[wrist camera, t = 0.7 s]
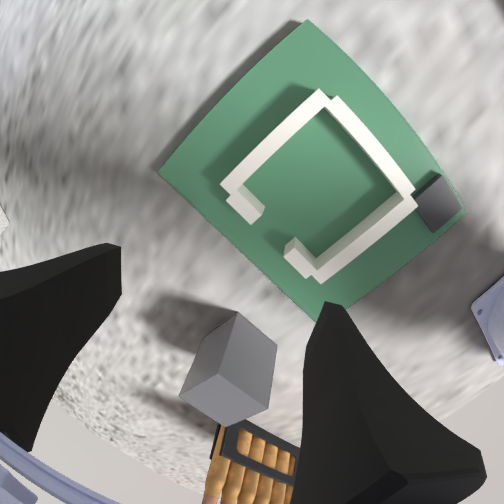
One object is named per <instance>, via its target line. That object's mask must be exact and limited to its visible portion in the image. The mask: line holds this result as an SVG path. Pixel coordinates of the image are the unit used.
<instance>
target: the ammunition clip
mask: <svg viewBox="0 0 504 504" xmlns="http://www.w3.org/2000/svg"><path fill="white" fill-rule="evenodd" d="M299 454H300V448H298V447H296V446H294V445H292V444H290V443H288V442H286V441H284V440H283V439H281V438H279V437H277V436H275V435H273V434H271V433H269V432H267V431H266V430H264V429H262V428H260V427H258V426H257V425H255V424H253V423H251V422H249V421H248V420H246V419H244V420H242V421H239V422H237V423H235V424H232V425H230V426H227V427H224V426H222V425H221V424H219V423H218V425H217V429H216V434H215V438H214V442H213V446H212V450H211V454H210V459H211V464H210V467H209V471H208V474H207V478H206V483H205V492H204V497H203V501H202V504H217V501H218V499H219V495H220V492H221V490H222V497H221V502H220V504H235V503H236V500H237V504H290V500H291V496H292V491H293V487H294V482H295V477H296V471H297V466H298V460H299Z"/></svg>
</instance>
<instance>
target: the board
mask: <svg viewBox="0 0 504 504" xmlns="http://www.w3.org/2000/svg"><path fill="white" fill-rule="evenodd" d="M158 173H159V174H160V175H161V176H162V177H163V178H164V179H165V180H166V181H167V182H168V183H169V184H171V185H172V186H173V187H174V188H175V189H176V190H177V191H178V192H179V193H180V194H181V195H182V196H183V197H184V198H185V199H186V200H187V201H188V202H189V203H190V204H191V205H192V206H193V207H195V208H196V209H197V210H198V211H199V212H200V213H201V214H202V215H203V216H204V217H205V218H206V219H207V220H208V221H209V222H210V223H211V224H212V225H213V226H214V227H215V228H216V229H218V230H219V231H220V232H221V233H222V234H223V235H224V236H225V237H226V238H227V239H228V240H229V241H230V242H231V243H232V244H233V245H234V246H235V247H236V248H238V249H239V250H240V251H241V252H242V253H243V254H244V255H245V256H246V257H247V258H248V259H249V260H250V261H251V262H252V263H253V264H254V265H255V266H256V267H258V268H259V269H260V270H261V271H262V272H263V273H264V274H265V275H266V276H267V277H268V278H269V279H270V280H271V281H272V282H273V283H274V284H276V285H277V286H278V287H279V288H280V289H281V290H282V291H283V292H284V293H285V294H286V295H287V296H288V297H289V298H290V299H291V300H292V301H294V302H295V303H296V304H297V305H298V306H299V307H300V308H301V309H302V310H303V311H304V312H305V313H306V314H307V315H308V316H309V317H311V318H312V319H313V320H314V321H315V322H317V319H318V317H319V314H320V312H321V309H322V307H323V304H324V302H325V301H327V302H331V303H335V304H339V305H342V306H343V307H344V308H345V309H347V308H348V307H349V306H351V305H352V304H354V303H355V302H356V301H358V300H359V299H361V298H362V297H363V296H365V295H366V294H367V293H369V292H370V291H372V290H373V289H374V288H376V287H377V286H378V285H380V284H381V283H382V282H384V281H385V280H386V279H388V278H389V277H390V276H392V275H393V274H394V273H395V272H397V271H398V270H399V269H401V268H402V267H403V266H404V265H406V264H407V263H408V262H409V261H411V260H412V259H413V258H414V257H416V256H417V255H418V254H419V253H421V252H422V251H423V250H424V249H426V248H427V247H428V246H429V245H430V244H432V243H433V242H434V241H435V240H436V239H437V238H439V237H440V236H441V235H442V234H443V233H445V232H446V231H447V230H448V229H449V228H450V227H451V226H453V225H454V224H455V223H456V222H457V221H458V220H459V219H460V218H462V217H463V216H464V215H465V214H466V213H467V210H466V208H465V207H464V205H463V203H462V201H461V200H460V198H459V196H458V195H457V193H456V191H455V190H454V188H453V186H452V185H451V183H450V182H449V180H448V179H447V177H446V175H445V174H444V172H443V171H442V169H441V168H440V166H439V165H438V163H437V162H436V160H435V159H434V157H433V156H432V155H431V153H430V152H429V150H428V149H427V147H426V146H425V145H424V143H423V142H422V141H421V139H420V138H419V137H418V135H417V134H416V133H415V131H414V130H413V129H412V127H411V126H410V125H409V123H408V122H407V121H406V120H405V118H404V117H403V116H402V115H401V113H400V112H399V111H398V110H397V109H396V107H395V106H394V105H393V104H392V103H391V101H390V100H389V99H388V98H387V97H386V96H385V94H384V93H383V92H382V91H381V90H380V89H379V88H378V87H377V85H376V84H375V83H374V82H373V81H372V80H371V79H370V78H369V77H368V76H367V75H366V74H365V72H364V71H363V70H362V69H361V68H360V67H359V66H358V65H357V64H356V63H355V62H354V61H353V60H352V59H351V58H350V57H349V56H348V55H347V54H346V53H345V52H344V51H343V50H342V49H341V48H340V47H338V46H337V45H336V44H335V43H334V42H333V41H332V40H331V39H330V38H329V37H328V36H327V35H325V34H324V33H323V32H322V31H321V30H320V29H319V28H317V27H316V26H315V25H314V24H313V23H312V22H310V21H309V20H308V19H307V20H305V21H304V22H303V23H302V24H301V25H299V26H298V27H297V28H296V29H295V30H294V31H292V32H291V33H290V34H289V35H288V36H287V37H285V38H284V39H283V40H282V41H281V42H280V43H279V44H278V45H276V46H275V47H274V48H273V49H272V50H271V51H270V52H269V53H268V54H267V55H266V56H264V57H263V58H262V59H261V60H260V61H259V62H258V63H257V64H256V65H255V66H254V67H253V68H252V69H251V70H250V71H249V72H248V73H247V74H246V75H245V76H244V77H243V78H242V79H241V80H240V81H239V82H238V83H237V84H236V85H235V86H234V87H233V88H232V89H231V90H230V91H229V92H228V93H227V94H226V95H225V96H224V97H223V98H222V99H221V100H220V101H219V102H218V103H217V104H216V105H215V106H214V107H213V109H212V110H211V111H210V112H209V113H208V114H207V115H206V116H205V117H204V118H203V119H202V121H201V122H200V123H199V124H198V125H197V126H196V127H195V128H194V130H193V131H192V132H191V133H190V134H189V135H188V136H187V138H186V139H185V140H184V141H183V142H182V143H181V145H180V146H179V147H178V148H177V149H176V150H175V152H174V153H173V154H172V155H171V156H170V158H169V159H168V160H167V161H166V163H165V164H164V165H163V166H162V168H161V169H160V170H159V171H158Z"/></svg>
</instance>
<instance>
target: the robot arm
mask: <svg viewBox="0 0 504 504" xmlns="http://www.w3.org/2000/svg"><path fill="white" fill-rule="evenodd" d="M121 295H122V286H121V247H120V246H116V245H113V244H109V243H104V244H99V245H95V246H92V247H88V248H85V249H82V250H79V251H76V252H72V253H69V254H66V255H63V256H60V257H57V258H54V259H50V260H47V261H44V262H40V263H37V264H34V265H30V266H26V267H22V268H18V269H13V270H8V271H3V272H0V459H1V460H2V461H4V462H5V463H6V464H7V465H9V466H10V467H12V468H13V469H14V470H15V471H17V472H18V473H20V474H21V475H22V476H24V477H25V478H26V479H28V480H29V481H31V482H32V483H34V484H35V485H37V486H38V487H40V488H41V489H43V490H44V491H46V492H48V493H49V494H51V495H52V496H54V497H56V498H57V499H59V500H61V501H62V502H64V503H66V504H120V503H118V502H115V501H113V500H111V499H109V498H106V497H104V496H102V495H100V494H98V493H96V492H94V491H92V490H90V489H88V488H86V487H84V486H82V485H80V484H78V483H77V482H75V481H73V480H71V479H69V478H68V477H66V476H64V475H62V474H61V473H59V472H57V471H56V470H54V469H52V468H51V467H49V466H47V465H46V464H44V463H43V462H41V461H40V460H38V459H37V458H35V457H34V456H32V455H31V454H29V453H28V452H30V451H32V448H33V444H34V441H35V438H36V435H37V432H38V429H39V427H40V424H41V421H42V419H43V417H44V414H45V412H46V410H47V407H48V405H49V402H50V401H51V399H52V397H53V395H54V393H55V391H56V389H57V387H58V385H59V383H60V381H61V379H62V378H63V376H64V374H65V372H66V371H67V369H68V367H69V366H70V364H71V363H72V361H73V360H74V358H75V357H76V355H77V354H78V353H79V352H80V350H81V349H82V348H83V347H84V345H85V344H86V343H87V342H88V340H89V339H90V338H91V337H92V335H93V334H94V333H95V332H96V331H97V329H98V328H99V327H100V326H101V324H102V323H103V322H104V321H105V319H106V318H107V317H108V316H109V314H110V313H111V311H112V310H113V308H114V306H115V305H116V303H117V301H118V300H119V298H120V296H121ZM471 310H472V312H473V314H474V316H475V318H476V320H477V322H478V323H479V325H480V327H481V329H482V331H483V334H484V336H485V338H486V340H487V342H488V344H489V346H490V348H491V350H492V353H493V355H494V357H495V359H496V362H497V364H498V365H499V366H501V365H503V364H504V276H503V277H502V278H501V279H500V280H499V281H498V282H497V283H496V284H494V285H493V286H492V287H491V288H490V289H489V290H488V291H486V292H485V293H484V294H483V295H482V296H480V297H479V298H478V299H477V300H476V301H474V302H473V303H472V305H471ZM479 310H480V311H479ZM486 478H487V475H486V470H485V466H484V463H483V459H482V456H481V451H480V450H479V449H478V448H476V447H475V446H473V445H471V444H470V443H468V442H467V441H465V440H463V439H462V438H460V437H458V436H457V435H456V434H454V433H453V432H451V431H450V430H449V429H447V428H446V427H444V426H443V425H442V424H441V423H439V422H438V421H437V420H436V419H434V418H433V417H432V416H431V415H430V414H429V413H427V412H426V411H425V410H424V409H423V408H422V407H421V406H420V405H419V404H418V403H417V402H416V401H414V400H413V399H412V398H411V397H410V396H409V395H408V394H407V393H406V392H405V390H404V389H403V388H402V387H401V386H400V385H399V384H398V383H397V381H396V380H395V379H394V378H393V377H392V376H391V375H390V373H389V372H388V371H387V370H386V368H385V367H384V366H383V364H382V363H381V362H380V361H379V359H378V358H377V357H376V355H375V354H374V352H373V351H372V350H371V348H370V347H369V345H368V344H367V342H366V341H365V339H364V338H363V336H362V335H361V333H360V332H359V330H358V329H357V327H356V325H355V324H354V322H353V321H352V319H351V318H350V316H349V314H348V313H347V311H346V310H345V308H344V307H343V306H342V305H339V304H335V303H331V302H327V301H325V302H324V304H323V307H322V309H321V312H320V314H319V317H318V319H317V322H316V324H315V327H314V329H313V332H312V334H311V336H310V339H309V341H308V343H307V346H306V352H305V360H304V368H303V428H302V440H301V447H300V454H299V460H298V466H297V471H296V477H295V482H294V487H293V491H292V496H291V500H290V504H457V503H459V502H461V501H462V500H464V499H465V498H467V497H468V496H470V495H471V494H473V493H474V492H475V491H477V490H478V489H479V488H480V487H481V486H482V485H483V484H484V482H485V480H486ZM37 500H38V498H37V496H36V495H35V494H34V493H32V492H31V491H30V490H28V489H27V488H26V487H25V486H24V485H22V484H21V483H20V482H19V481H18V480H17V479H16V478H15V477H14V476H12V474H11V473H10V472H9V471H8V470H6V469H5V468H4V467H3V466H2V465H1V464H0V504H35V503H36V501H37Z"/></svg>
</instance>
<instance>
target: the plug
mask: <svg viewBox="0 0 504 504" xmlns="http://www.w3.org/2000/svg"><path fill="white" fill-rule="evenodd" d="M276 352H277V345H276V344H275V343H274V342H273V341H272V340H270V339H269V338H268V337H267V336H266V335H265V334H263V333H262V332H261V331H260V330H259V329H258V328H256V327H255V326H254V325H253V324H252V323H251V322H249V321H248V320H247V319H246V318H245V317H244V316H242V315H241V314H240V313H239V312H237V313H236V314H235V315H233V316H232V317H231V318H229V319H228V320H227V321H225V322H224V323H223V324H222V325H220V326H219V327H218V328H216V329H215V330H214V331H212V332H211V333H210V334H208V335H207V336H206V337H204V338H203V340H202V342H201V345H200V347H199V349H198V352H197V354H196V356H195V359H194V361H193V363H192V366H191V368H190V370H189V373H188V375H187V377H186V380H185V382H184V384H183V387H182V389H181V391H180V394H179V397H180V398H182V399H183V400H185V401H186V402H187V403H189V404H190V405H192V406H193V407H195V408H196V409H198V410H199V411H201V412H202V413H204V414H205V415H207V416H208V417H210V418H211V419H213V420H215V421H216V422H218V423H219V424H221V425H222V426H224V427H227V426H230V425H232V424H235V423H237V422H239V421H242V420H244V419H246V418H249V417H251V416H253V415H256V414H258V413H260V412H262V411H265V410H267V409H268V406H269V400H270V393H271V387H272V380H273V373H274V366H275V359H276Z"/></svg>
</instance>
